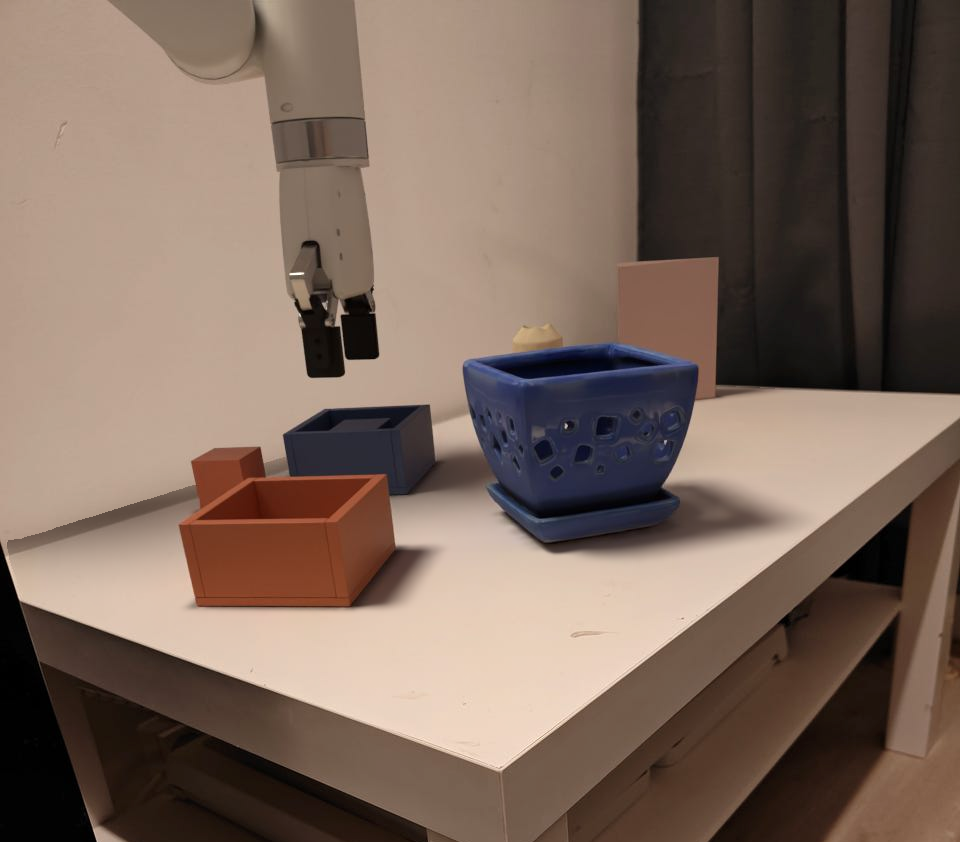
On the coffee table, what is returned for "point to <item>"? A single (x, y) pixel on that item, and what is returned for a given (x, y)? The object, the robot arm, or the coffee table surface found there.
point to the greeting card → (672, 311)
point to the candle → (536, 339)
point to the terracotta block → (225, 470)
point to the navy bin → (364, 445)
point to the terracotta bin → (290, 541)
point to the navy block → (363, 424)
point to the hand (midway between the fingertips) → (345, 367)
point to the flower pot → (582, 435)
